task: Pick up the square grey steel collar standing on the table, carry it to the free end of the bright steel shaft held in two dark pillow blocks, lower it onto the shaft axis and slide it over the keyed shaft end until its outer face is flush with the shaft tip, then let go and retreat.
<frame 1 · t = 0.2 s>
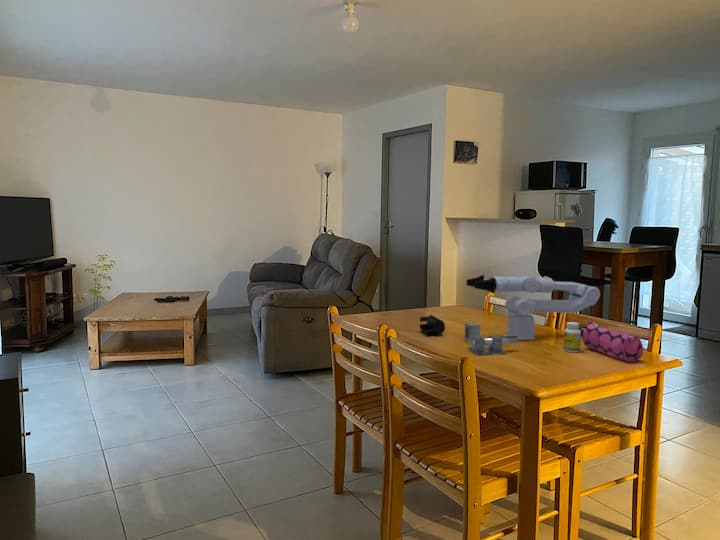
hand: (470, 283, 202), 21 cm above the table, tool horizontal, fingers open, 7 cm apart
shaft stand: (487, 351, 187), on the table
collar: (471, 341, 203), on the table
supplement bottle: (571, 351, 189), on the table
pencil case: (610, 355, 184), on the table
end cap: (431, 334, 214), on the table
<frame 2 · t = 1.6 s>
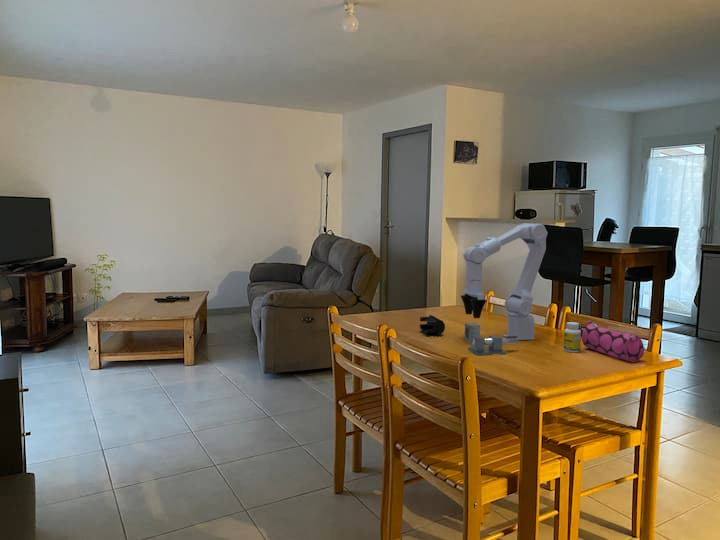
hand: (472, 316, 202), 9 cm above the table, tool pointing down, fingers open, 7 cm apart
nothing on the table moved.
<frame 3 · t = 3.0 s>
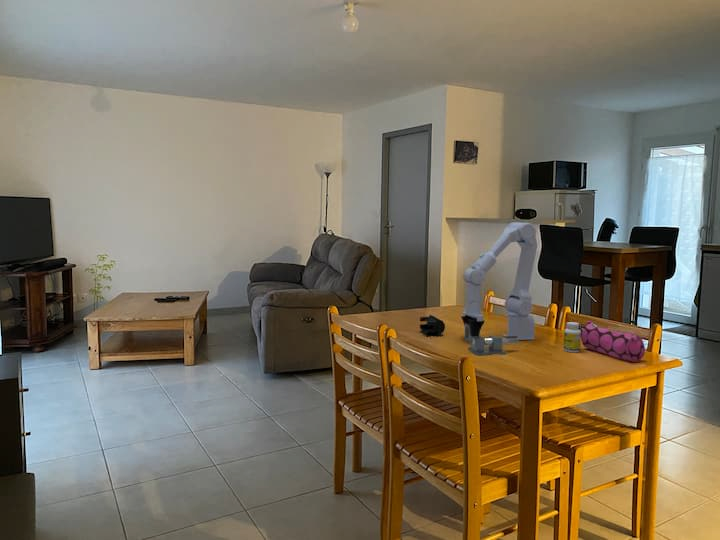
hand: (472, 336, 202), 2 cm above the table, tool pointing down, fingers closed on collar, 5 cm apart
collar: (472, 341, 203), on the table, touching gripper
everything else where it was.
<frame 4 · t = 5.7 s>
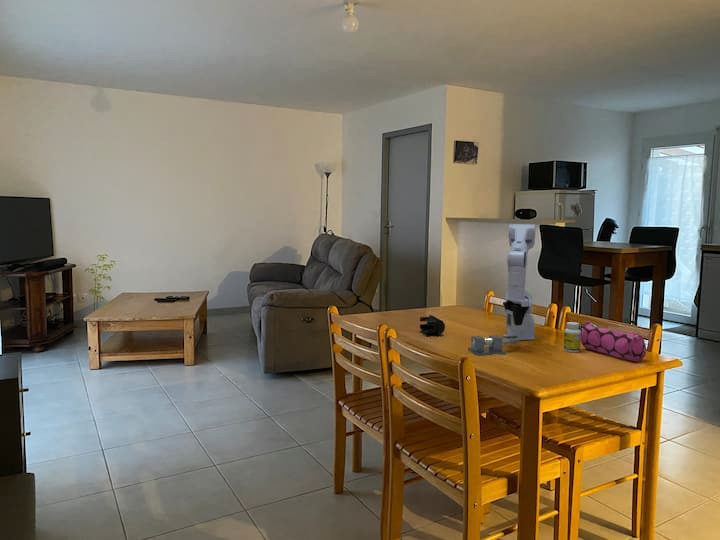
hand: (514, 323, 191), 9 cm above the table, tool pointing down, fingers closed on collar, 5 cm apart
collar: (514, 328, 191), point 7 cm above the table, touching gripper
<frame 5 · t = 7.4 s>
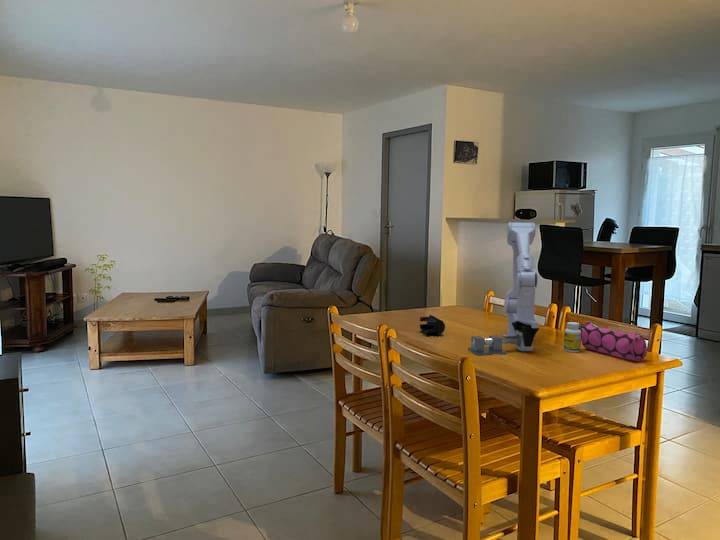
hand: (524, 344, 189), 2 cm above the table, tool pointing down, fingers closed on collar, 5 cm apart
collar: (523, 349, 189), on the table, touching gripper
when the fingers open (2 cm above the table, at t = 8.9 s): collar stays where it is, on the table.
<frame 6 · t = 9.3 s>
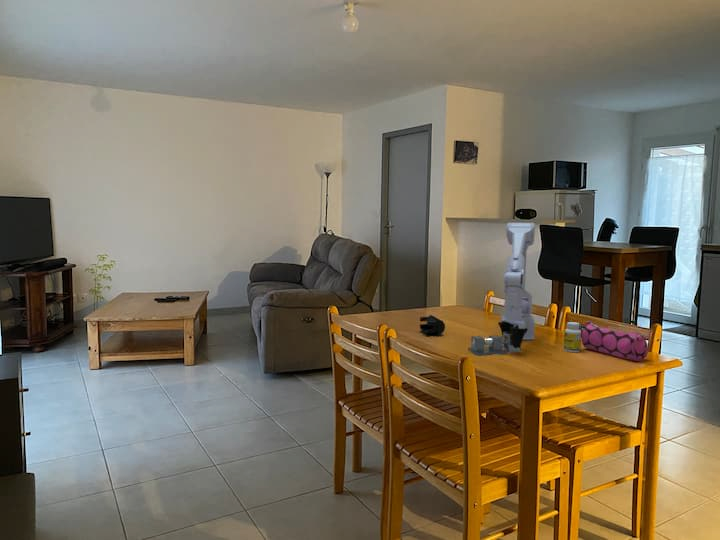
hand: (511, 344, 188), 2 cm above the table, tool pointing down, fingers open, 7 cm apart
collar: (511, 351, 188), on the table
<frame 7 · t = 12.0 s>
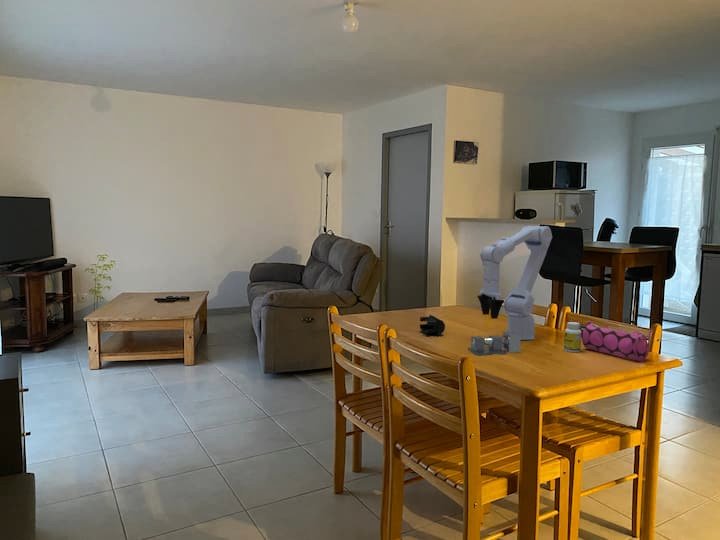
hand: (489, 316, 198), 10 cm above the table, tool pointing down, fingers open, 7 cm apart
at the end: collar 0.4 cm from the target spot on the shaft stand, point 0.0 cm above the shaft stand's base; collar tilted 0°; the gripper is holding nothing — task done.
